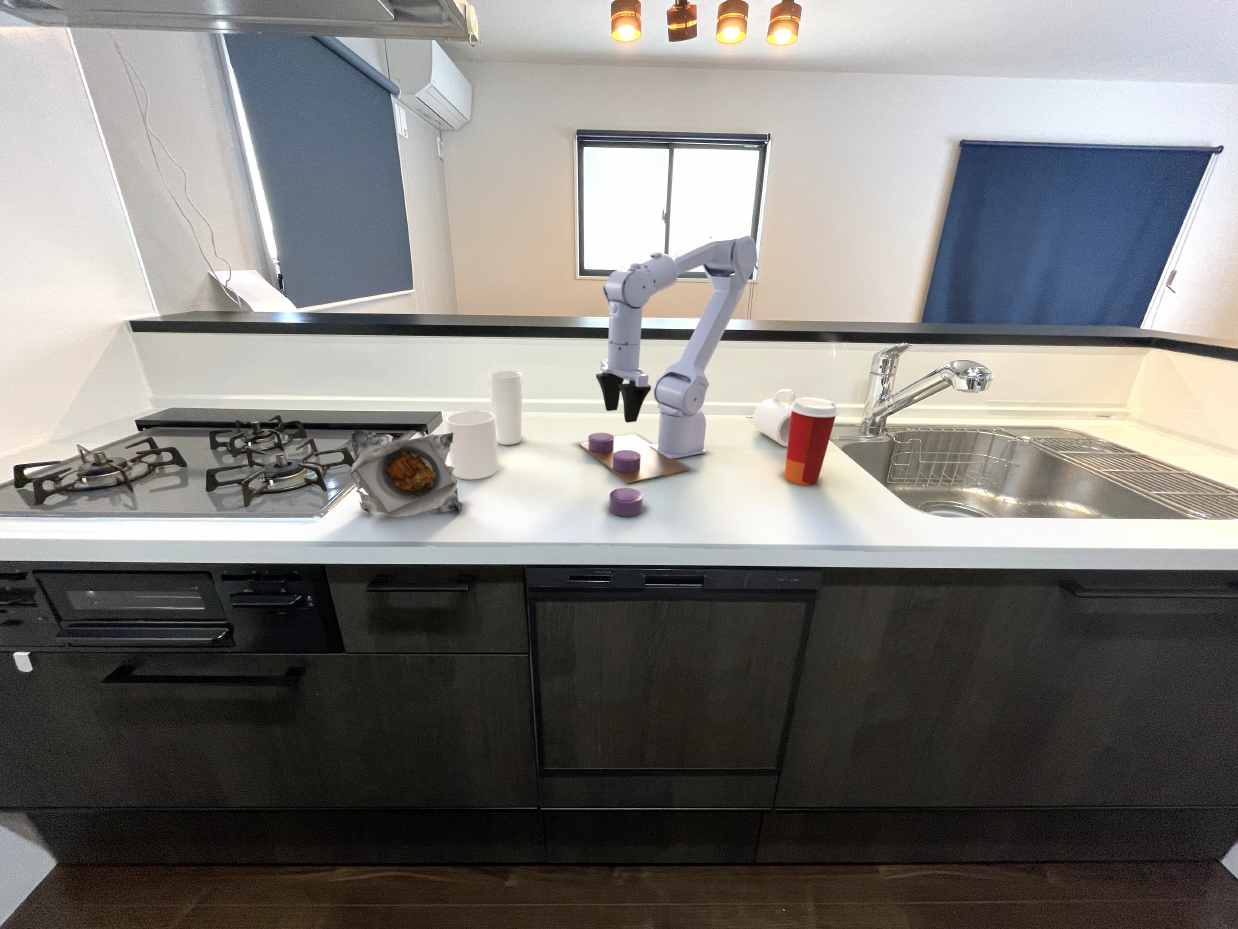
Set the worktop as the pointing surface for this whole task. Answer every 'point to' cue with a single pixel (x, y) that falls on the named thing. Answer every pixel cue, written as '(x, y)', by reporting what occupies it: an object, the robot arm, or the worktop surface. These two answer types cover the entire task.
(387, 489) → the meal
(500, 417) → the drinking glass
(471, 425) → the mug
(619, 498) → the dish bottom
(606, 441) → the dish top
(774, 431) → the mug
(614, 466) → the dish middle
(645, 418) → the worktop surface
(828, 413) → the coffee cup
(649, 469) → the mat
